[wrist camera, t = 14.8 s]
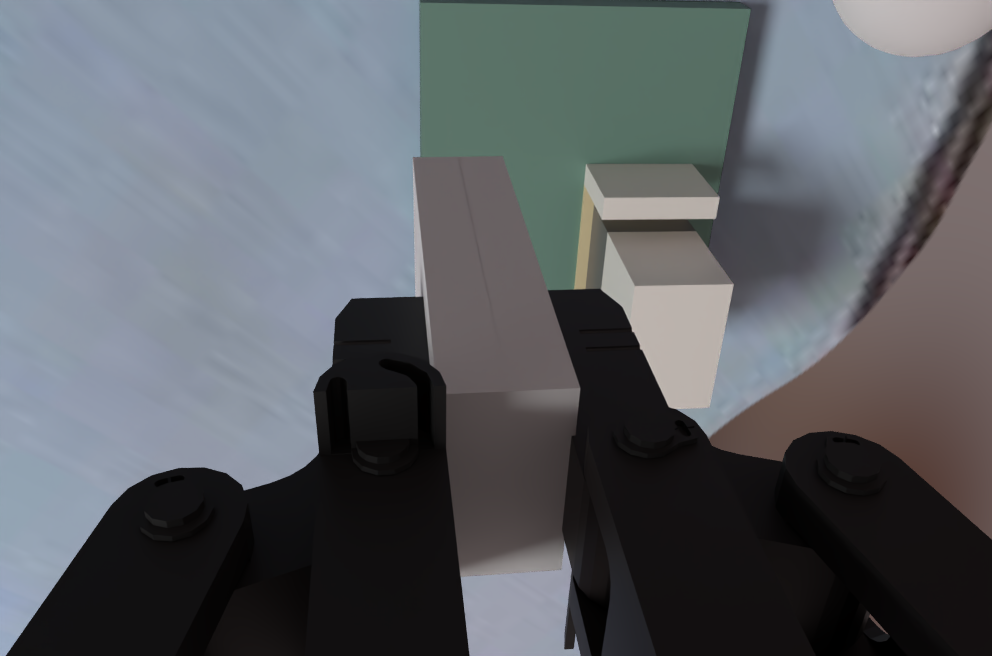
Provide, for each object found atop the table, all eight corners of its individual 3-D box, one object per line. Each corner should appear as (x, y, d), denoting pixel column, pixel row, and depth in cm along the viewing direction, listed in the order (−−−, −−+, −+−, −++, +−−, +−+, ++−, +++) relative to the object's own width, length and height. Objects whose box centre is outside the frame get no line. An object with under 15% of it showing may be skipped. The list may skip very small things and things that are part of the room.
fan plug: (593, 204, 41) (634, 286, 34) (677, 204, 41) (733, 284, 35) (582, 316, 44) (618, 410, 37) (660, 314, 45) (709, 407, 38)
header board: (419, -5, 37) (424, 23, 32) (738, 2, 39) (787, 30, 34) (421, 338, 46) (425, 399, 41) (682, 332, 47) (714, 391, 43)
